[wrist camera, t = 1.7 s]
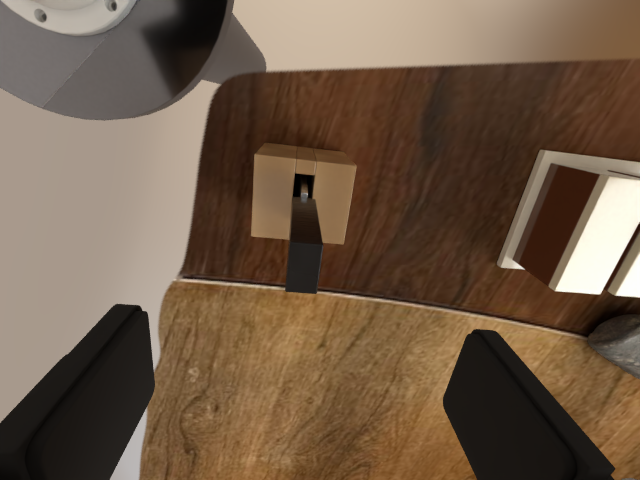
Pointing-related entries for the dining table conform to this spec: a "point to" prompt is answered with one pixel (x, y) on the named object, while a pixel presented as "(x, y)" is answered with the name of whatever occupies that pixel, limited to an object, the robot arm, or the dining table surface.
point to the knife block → (324, 186)
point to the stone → (619, 342)
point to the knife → (304, 243)
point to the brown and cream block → (579, 225)
